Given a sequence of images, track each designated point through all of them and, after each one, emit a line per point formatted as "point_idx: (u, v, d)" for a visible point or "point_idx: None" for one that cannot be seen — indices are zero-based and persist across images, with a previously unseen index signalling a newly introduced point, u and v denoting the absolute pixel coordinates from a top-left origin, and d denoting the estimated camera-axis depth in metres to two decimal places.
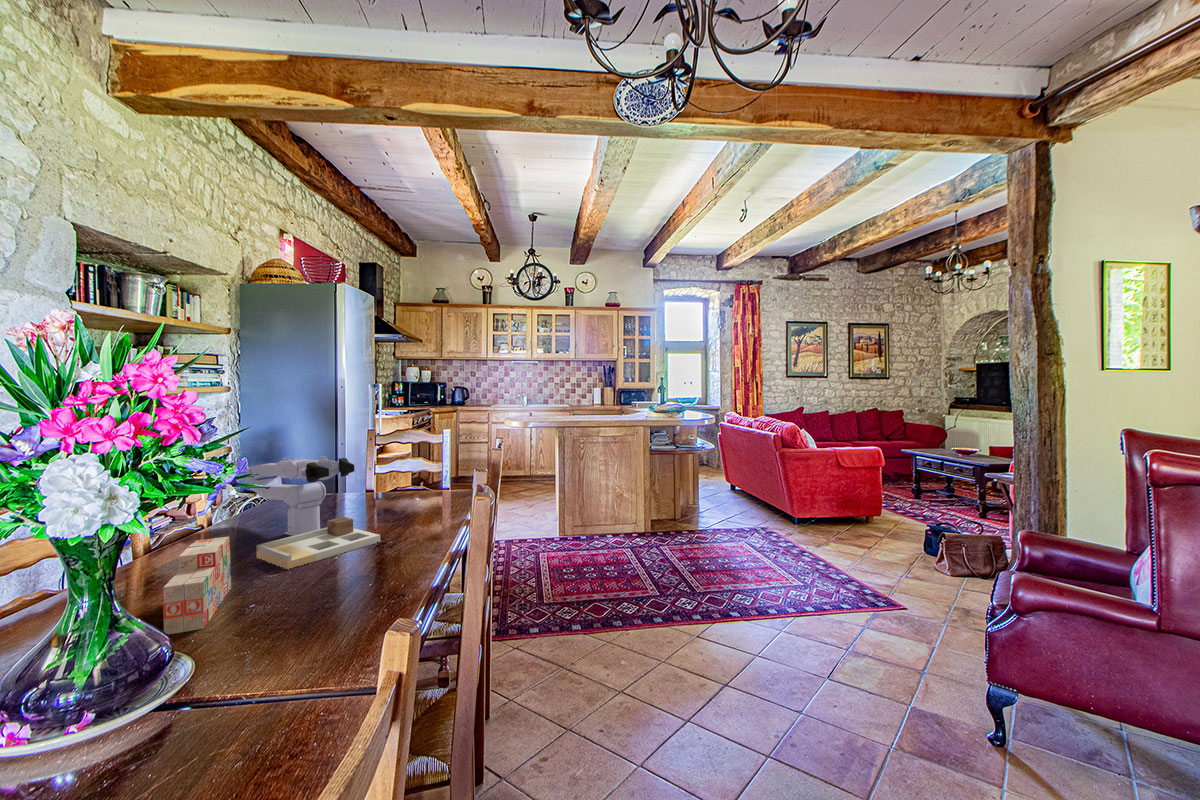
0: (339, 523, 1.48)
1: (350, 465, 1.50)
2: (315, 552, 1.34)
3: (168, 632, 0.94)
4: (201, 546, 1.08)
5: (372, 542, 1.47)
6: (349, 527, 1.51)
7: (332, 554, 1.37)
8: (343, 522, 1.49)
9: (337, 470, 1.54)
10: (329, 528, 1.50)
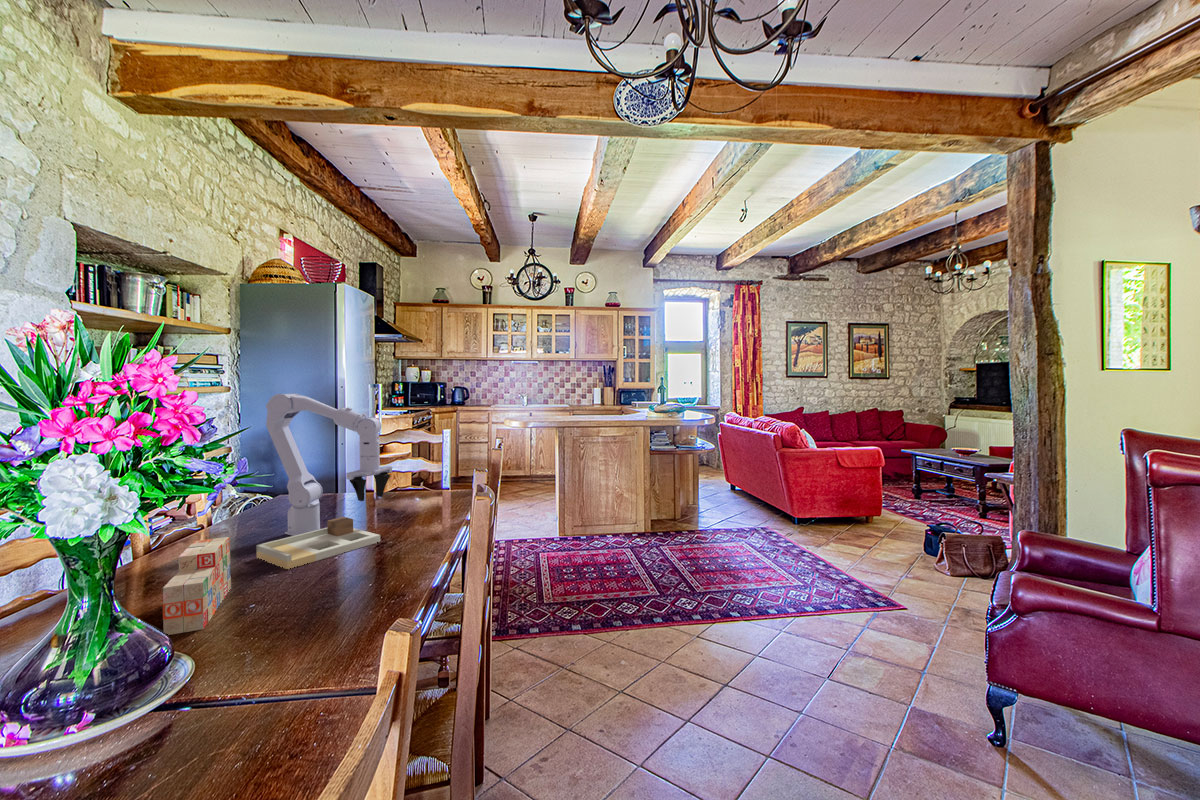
0: (339, 523, 1.48)
1: (380, 494, 1.61)
2: (315, 552, 1.34)
3: (168, 633, 0.94)
4: (201, 546, 1.08)
5: (372, 542, 1.47)
6: (349, 527, 1.51)
7: (332, 554, 1.37)
8: (343, 522, 1.49)
9: None
10: (329, 528, 1.50)
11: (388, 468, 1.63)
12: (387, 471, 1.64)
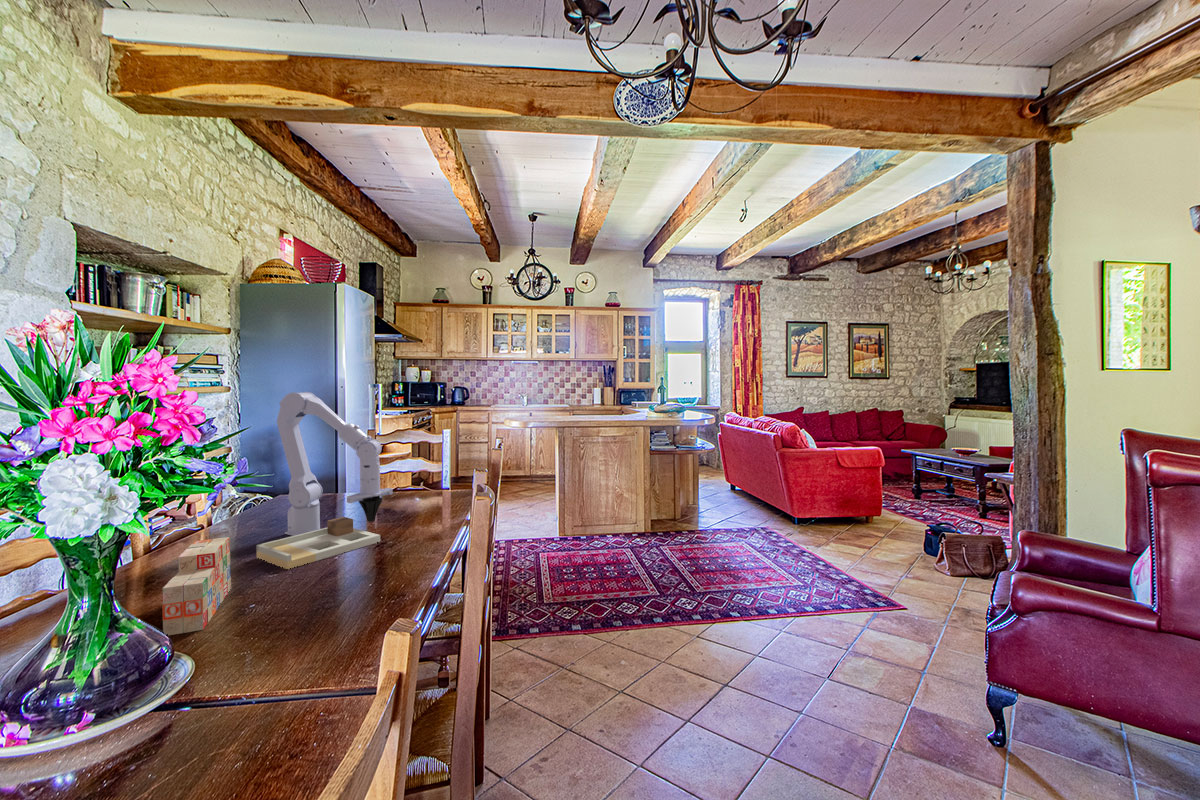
0: (339, 523, 1.48)
1: None
2: (315, 552, 1.34)
3: (167, 633, 0.94)
4: (201, 547, 1.07)
5: (372, 542, 1.47)
6: (349, 527, 1.51)
7: (332, 554, 1.37)
8: (343, 522, 1.49)
9: None
10: (329, 528, 1.50)
11: (388, 490, 1.63)
12: (387, 493, 1.64)
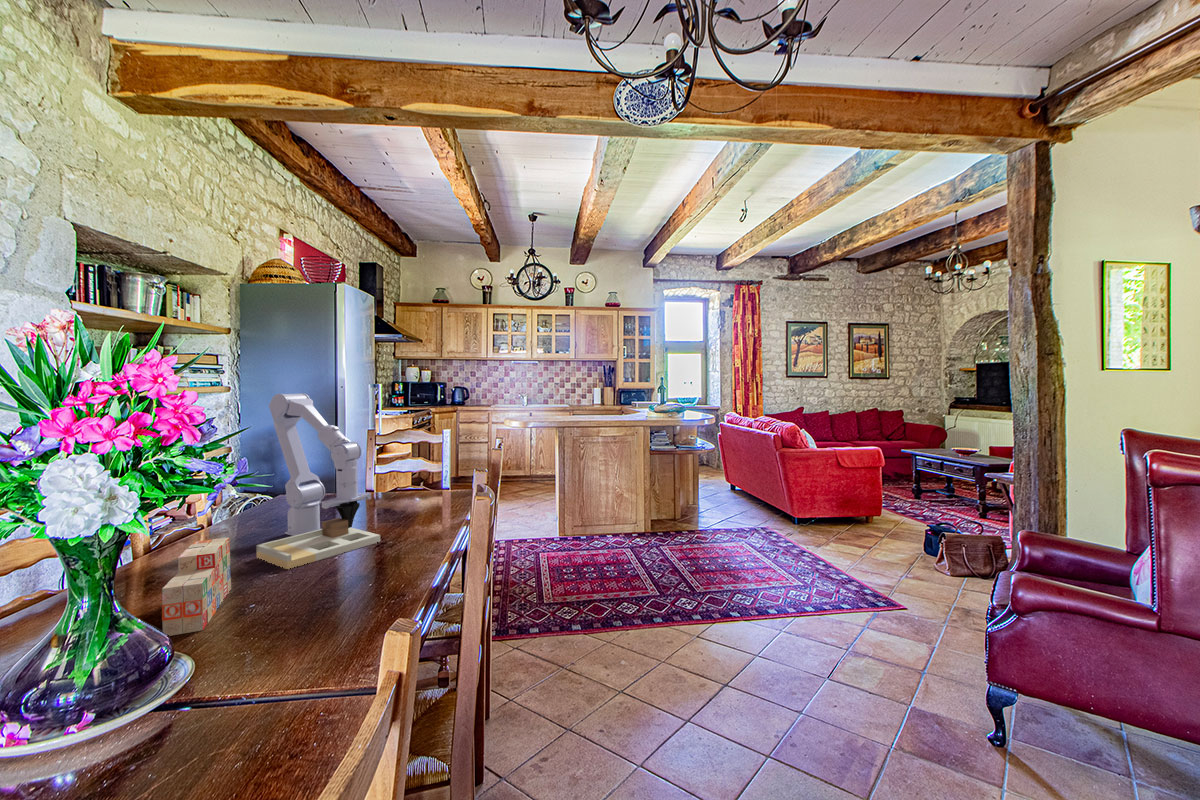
0: (334, 524, 1.47)
1: None
2: (315, 552, 1.34)
3: None
4: (201, 547, 1.07)
5: (372, 542, 1.47)
6: (344, 528, 1.49)
7: (332, 554, 1.37)
8: (338, 523, 1.48)
9: None
10: (324, 529, 1.48)
11: (367, 495, 1.57)
12: (366, 498, 1.58)
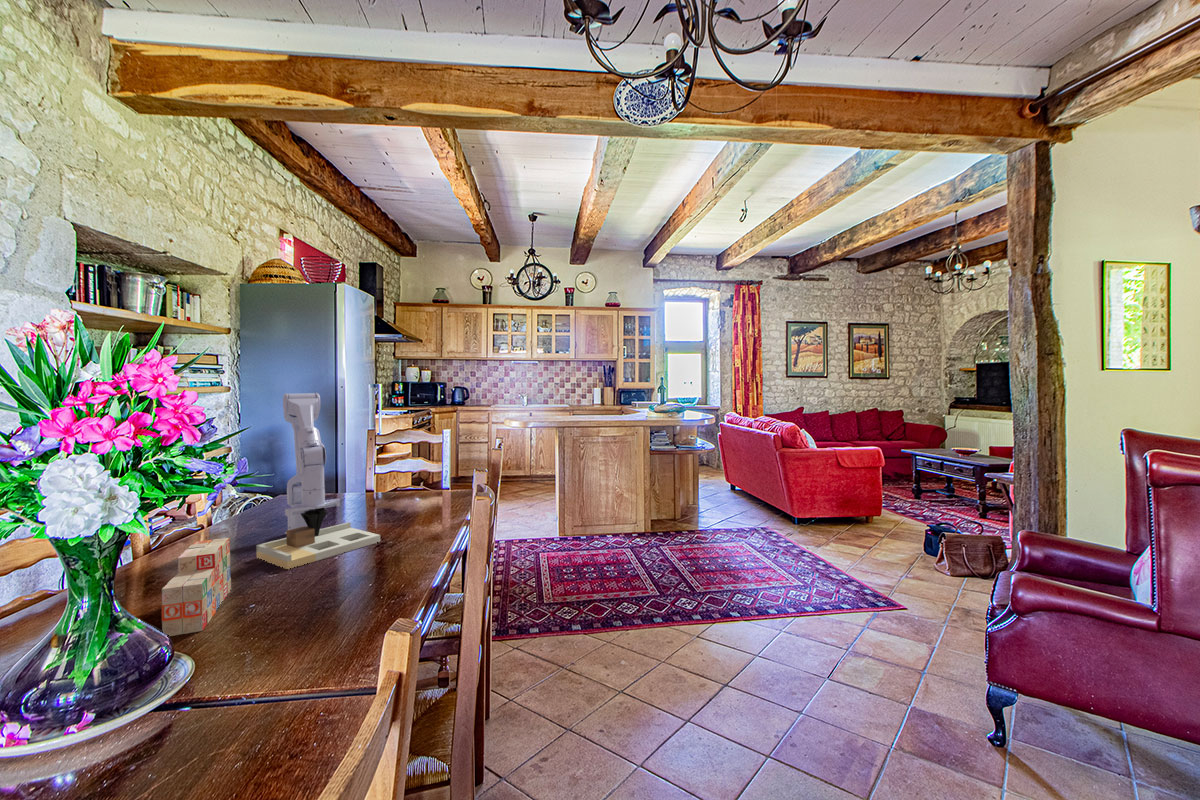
0: (298, 533, 1.38)
1: None
2: (315, 552, 1.34)
3: None
4: (201, 547, 1.07)
5: (372, 542, 1.47)
6: (310, 537, 1.41)
7: (332, 554, 1.37)
8: (303, 532, 1.39)
9: None
10: (288, 538, 1.40)
11: (335, 501, 1.48)
12: (334, 504, 1.49)
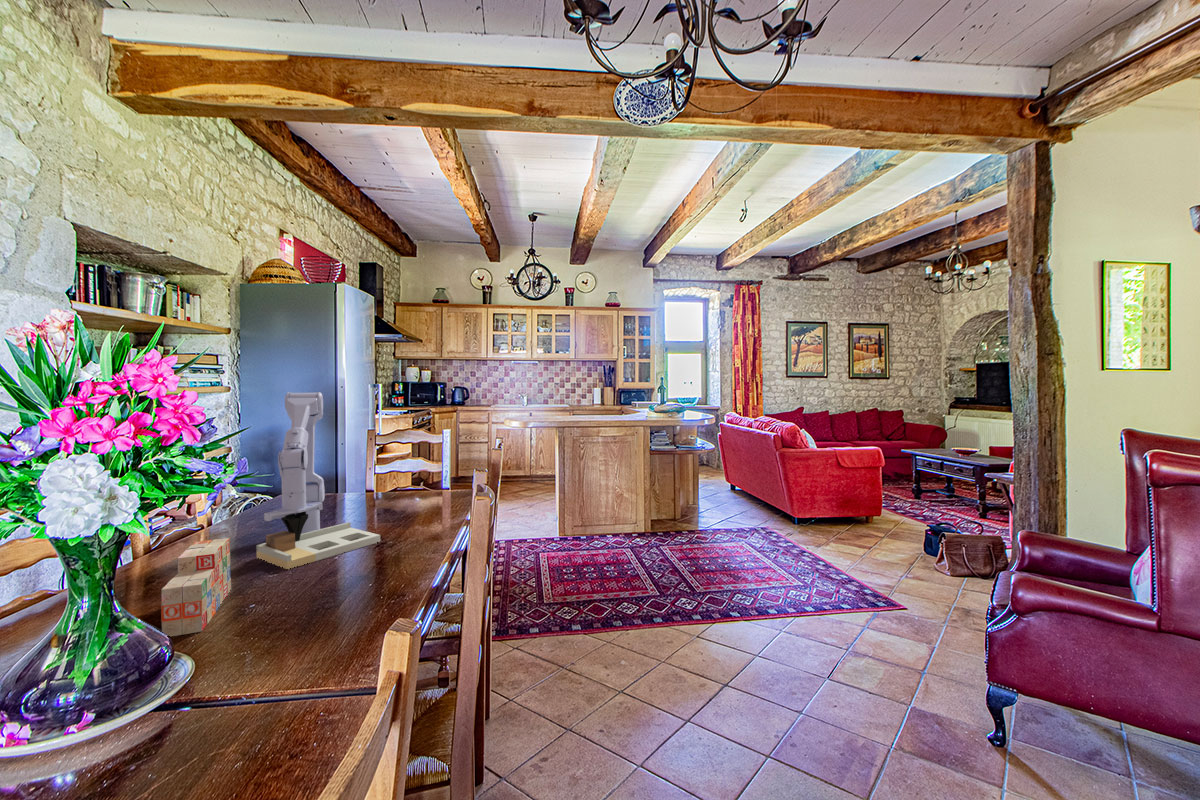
0: (278, 538, 1.34)
1: None
2: (315, 552, 1.34)
3: None
4: (200, 548, 1.07)
5: (372, 542, 1.47)
6: (290, 543, 1.36)
7: (332, 554, 1.37)
8: (283, 537, 1.35)
9: None
10: (268, 543, 1.35)
11: (317, 505, 1.44)
12: (316, 508, 1.45)
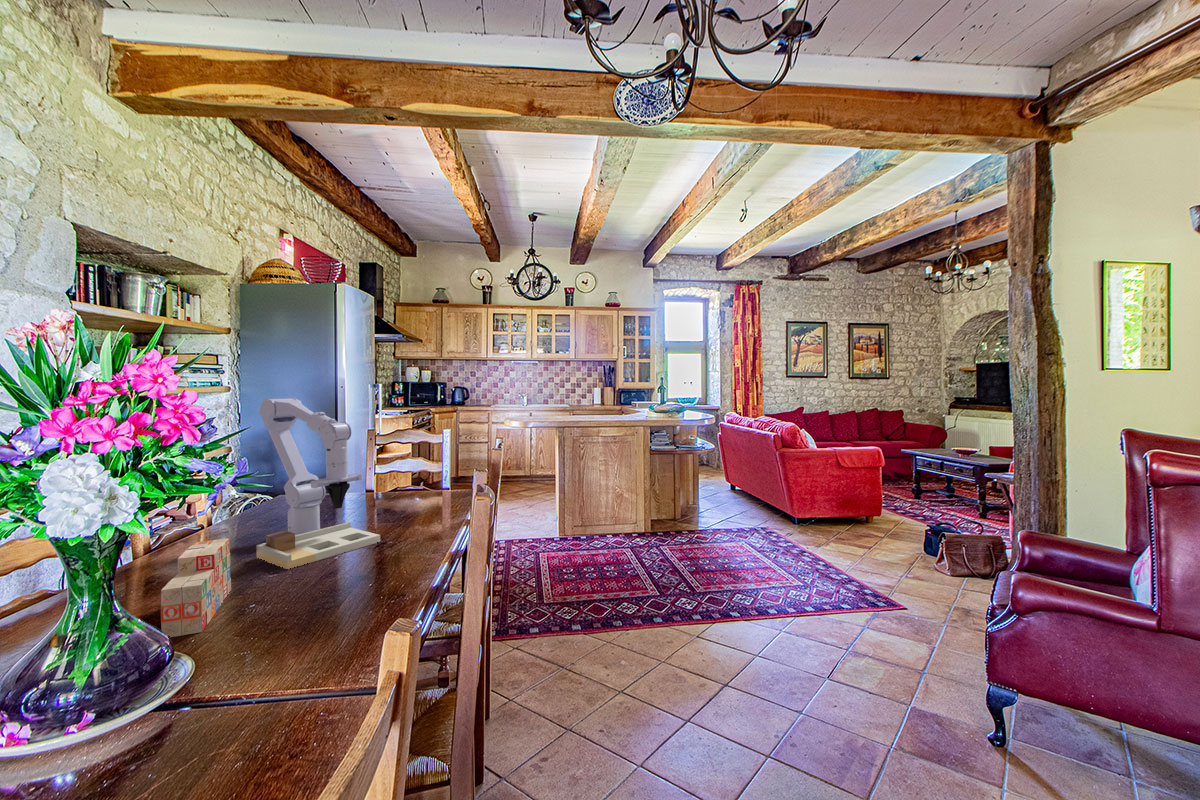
0: (278, 538, 1.34)
1: None
2: (315, 552, 1.34)
3: None
4: (200, 548, 1.07)
5: (372, 542, 1.47)
6: (290, 543, 1.36)
7: (332, 554, 1.37)
8: (283, 537, 1.35)
9: None
10: (268, 543, 1.35)
11: (357, 476, 1.56)
12: (356, 479, 1.56)
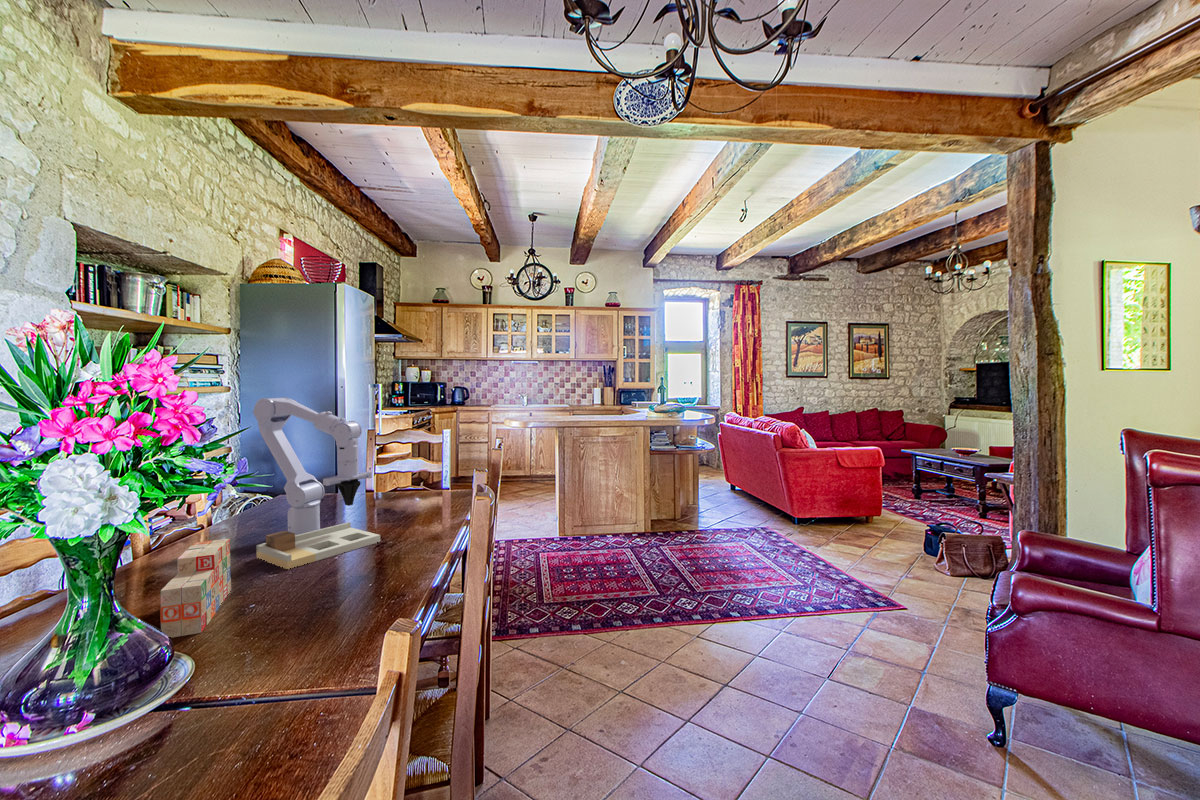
0: (278, 538, 1.34)
1: None
2: (315, 552, 1.34)
3: None
4: (200, 548, 1.06)
5: (372, 542, 1.47)
6: (290, 543, 1.36)
7: (332, 554, 1.37)
8: (283, 537, 1.35)
9: None
10: (268, 543, 1.35)
11: (367, 473, 1.59)
12: (366, 476, 1.60)
